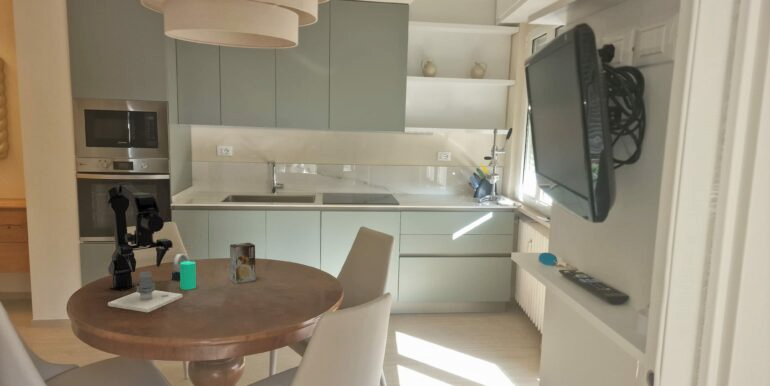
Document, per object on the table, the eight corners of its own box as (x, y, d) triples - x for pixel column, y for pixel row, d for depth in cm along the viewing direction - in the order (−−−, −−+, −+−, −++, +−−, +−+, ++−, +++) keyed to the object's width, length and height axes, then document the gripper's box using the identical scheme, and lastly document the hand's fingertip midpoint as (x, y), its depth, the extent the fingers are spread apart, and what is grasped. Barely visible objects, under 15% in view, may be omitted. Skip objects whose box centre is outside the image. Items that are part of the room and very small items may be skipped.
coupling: (155, 292, 187) (155, 276, 186) (136, 294, 184) (136, 278, 184) (154, 286, 195) (154, 270, 194) (136, 287, 192) (136, 272, 191)
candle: (190, 290, 204) (190, 261, 203) (177, 288, 206) (176, 260, 204) (198, 286, 210) (198, 258, 209) (185, 284, 211) (185, 256, 210)
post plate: (107, 305, 184) (107, 295, 183) (144, 291, 201) (144, 281, 200) (148, 312, 179) (147, 301, 178) (182, 297, 196) (182, 287, 195)
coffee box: (249, 277, 225) (249, 242, 223) (255, 280, 220) (255, 244, 218) (229, 280, 219) (229, 244, 217) (235, 284, 214) (235, 247, 212)
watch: (191, 276, 223) (190, 252, 222) (182, 281, 215) (181, 256, 214) (179, 275, 224) (178, 251, 223) (169, 280, 216) (169, 255, 215)
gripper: (160, 222, 199) (161, 260, 200) (109, 227, 185) (110, 269, 187) (172, 226, 191) (173, 266, 193) (120, 232, 177) (122, 275, 179)
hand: (145, 268), depth 188 cm, fingers open, 9 cm apart
